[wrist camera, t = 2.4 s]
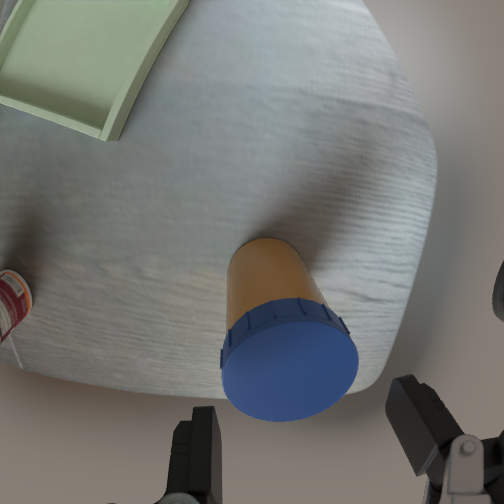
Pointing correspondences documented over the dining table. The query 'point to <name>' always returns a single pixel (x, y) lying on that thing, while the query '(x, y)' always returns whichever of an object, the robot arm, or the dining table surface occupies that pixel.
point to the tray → (82, 58)
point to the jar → (266, 277)
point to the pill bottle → (12, 301)
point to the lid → (287, 360)
